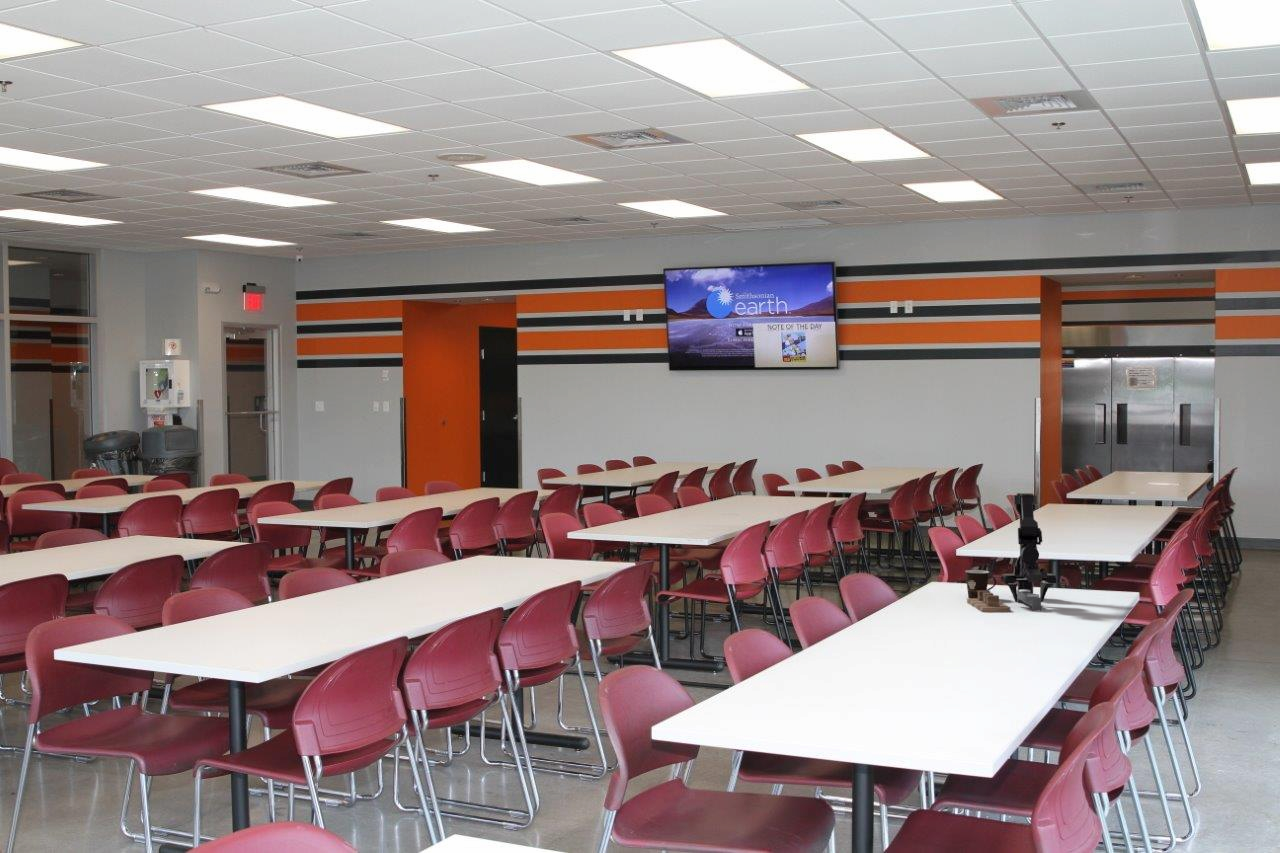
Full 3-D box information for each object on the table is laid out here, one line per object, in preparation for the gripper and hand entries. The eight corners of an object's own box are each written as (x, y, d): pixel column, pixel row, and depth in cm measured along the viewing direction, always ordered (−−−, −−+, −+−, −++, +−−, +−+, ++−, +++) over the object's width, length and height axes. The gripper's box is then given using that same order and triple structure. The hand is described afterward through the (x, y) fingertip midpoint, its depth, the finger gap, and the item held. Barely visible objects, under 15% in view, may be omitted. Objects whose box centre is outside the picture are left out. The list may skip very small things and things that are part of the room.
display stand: (967, 602, 450) (967, 589, 450) (994, 602, 450) (994, 589, 450) (982, 611, 430) (982, 597, 430) (1010, 611, 430) (1010, 597, 430)
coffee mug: (960, 596, 463) (960, 570, 463) (980, 595, 466) (980, 569, 465) (978, 601, 452) (978, 574, 452) (998, 600, 455) (998, 573, 454)
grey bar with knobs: (1015, 602, 450) (1015, 588, 450) (1026, 602, 450) (1026, 588, 450) (1031, 610, 432) (1031, 596, 432) (1042, 610, 432) (1042, 596, 432)
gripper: (1009, 562, 432) (1009, 606, 433) (1062, 562, 432) (1062, 605, 433) (1000, 558, 444) (1000, 600, 444) (1051, 558, 444) (1051, 600, 444)
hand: (1028, 602), depth 441 cm, fingers open, 9 cm apart
